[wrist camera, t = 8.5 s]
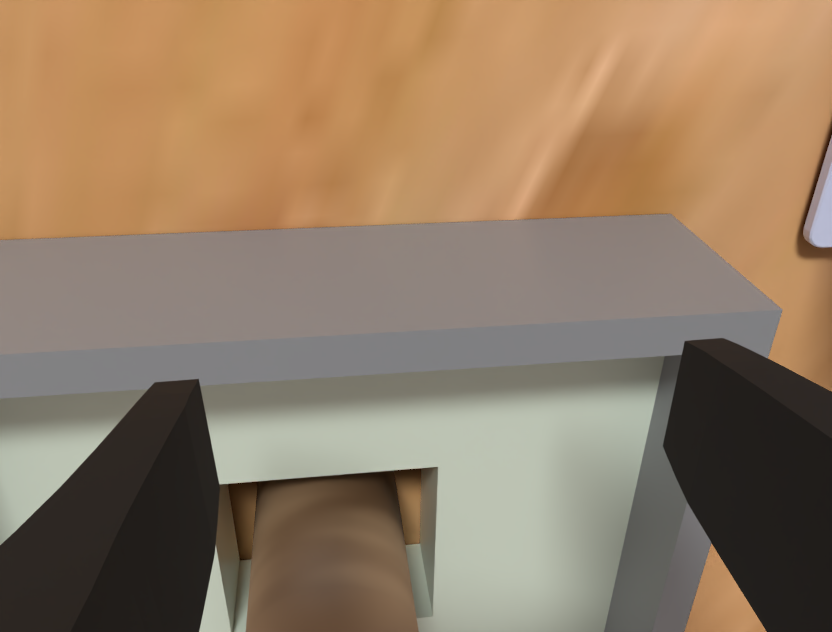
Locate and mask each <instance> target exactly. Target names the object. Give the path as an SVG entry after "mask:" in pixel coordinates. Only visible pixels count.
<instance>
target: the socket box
mask: <svg viewBox="0 0 832 632" xmlns="http://www.w3.org/2000/svg"><path fill="white" fill-rule="evenodd" d="M781 313H782V309H781V308H780V307H779V306H778V305H776V304H775V303H774V302H773V301H772V300H771V299H769V298H768V297H767V296H766V295H765V294H764V293H762V292H761V291H760V290H759V289H758V288H757V287H755V286H754V285H753V284H752V283H751V282H750V281H748V280H747V279H746V278H745V277H744V276H743V275H741V274H740V273H739V272H738V271H737V270H736V269H734V268H733V267H732V266H731V265H730V264H729V263H727V262H726V261H725V260H724V259H723V258H722V257H720V256H719V255H718V254H717V253H716V252H715V251H714V250H712V249H711V248H710V247H709V246H708V245H707V244H705V243H704V242H703V241H702V240H701V239H700V238H698V237H697V236H696V235H695V234H694V233H693V232H691V231H690V230H689V229H688V228H687V227H686V226H684V225H683V224H682V223H681V222H680V221H679V220H677V219H676V218H675V217H674V216H673V215H672V214H655V215H629V216H604V217H578V218H553V219H528V220H502V221H477V222H451V223H426V224H400V225H375V226H349V227H324V228H298V229H273V230H247V231H222V232H196V233H171V234H145V235H120V236H95V237H69V238H44V239H18V240H0V545H1V544H2V543H3V542H4V541H5V540H6V539H7V538H9V537H10V536H11V535H12V534H13V533H14V532H15V531H16V530H17V529H18V528H19V527H20V526H21V525H22V524H23V523H24V522H25V521H26V520H27V519H28V518H29V517H30V516H31V515H32V514H33V513H34V512H35V511H36V510H37V509H38V508H39V507H40V506H41V505H42V504H43V503H44V502H45V501H46V500H47V499H49V498H50V497H51V496H52V495H53V494H54V493H55V492H56V491H57V490H58V489H59V488H60V487H61V485H62V484H63V483H64V482H65V481H66V480H67V479H68V478H69V477H70V476H71V475H72V474H73V473H74V472H75V470H76V469H77V468H78V467H79V466H80V465H81V464H82V463H83V462H84V461H85V460H86V459H87V457H88V456H89V455H90V454H91V453H92V452H93V451H94V450H95V449H96V448H97V447H98V445H99V444H100V443H101V442H102V441H103V440H104V439H105V438H106V436H107V435H108V434H109V433H110V432H111V431H112V430H113V428H114V427H115V426H116V425H117V424H118V423H119V422H120V420H121V419H122V418H123V417H124V416H125V415H126V414H127V412H128V411H129V410H130V409H131V408H132V407H133V406H134V404H135V403H136V402H137V401H138V400H139V399H140V398H141V397H142V395H143V394H144V393H145V392H146V391H147V390H148V389H149V388H150V387H151V386H152V385H153V384H154V382H165V381H178V380H190V379H199V382H200V387H201V393H202V398H203V403H204V408H205V413H206V418H207V424H208V429H209V434H210V439H211V444H212V449H213V455H214V460H215V465H216V470H217V475H218V480H219V486H220V494H219V509H218V523H217V535H216V547H215V555H214V560H213V566H212V571H211V576H210V581H209V586H208V591H207V596H206V601H205V606H204V611H203V616H202V620H201V625H200V630H199V632H246V621H247V609H248V597H249V584H250V572H251V560H252V559H250V560H240V558H239V552H238V545H237V539H236V533H235V526H234V520H233V513H232V507H231V500H230V494H229V488H228V484H231V483H243V482H255V481H268V480H280V479H293V478H305V477H317V476H330V475H342V474H355V473H367V472H380V471H392V470H404V469H417V468H421V510H420V544H411V545H405V546H406V553H407V559H408V566H409V572H410V579H411V585H412V592H413V598H414V605H415V611H416V618H417V624H418V630H419V632H684V631H685V628H686V624H687V621H688V618H689V614H690V611H691V608H692V605H693V601H694V598H695V595H696V592H697V588H698V585H699V582H700V578H701V575H702V572H703V569H704V565H705V562H706V559H707V555H708V552H709V549H710V546H711V541H710V539H709V538H708V536H707V534H706V533H705V531H704V530H703V528H702V526H701V525H700V523H699V521H698V520H697V518H696V516H695V515H694V513H693V511H692V510H691V508H690V506H689V505H688V503H687V501H686V498H685V496H684V494H683V492H682V490H681V488H680V485H679V483H678V481H677V479H676V477H675V474H674V472H673V470H672V467H671V465H670V462H669V460H668V458H667V455H666V453H665V450H664V448H663V442H664V437H665V432H666V428H667V423H668V418H669V413H670V409H671V404H672V399H673V394H674V390H675V385H676V380H677V375H678V371H679V366H680V361H681V356H682V352H683V347H684V342H685V341H690V340H702V339H715V338H725V339H727V340H729V341H732V342H734V343H737V344H739V345H741V346H743V347H745V348H747V349H749V350H752V351H754V352H756V353H758V354H760V355H762V356H764V357H766V358H768V356H769V353H770V349H771V346H772V343H773V339H774V336H775V333H776V330H777V326H778V323H779V320H780V317H781Z"/></svg>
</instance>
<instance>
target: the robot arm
mask: <svg viewBox="0 0 832 632" xmlns="http://www.w3.org/2000/svg"><path fill="white" fill-rule="evenodd" d="M803 236H804V238H805V240H806V241H808V242H809V243H810V244H812V245H813V246H815V247H819V248H827V247H832V136H831V140H830V143H829V146H828V149H827V153H826V156H825V159H824V163H823V166H822V169H821V173H820V176H819V179H818V183H817V186H816V189H815V192H814V196H813V199H812V202H811V206H810V209H809V212H808V216H807V219H806V222H805V225H804V230H803ZM663 448H664V450H665V453H666V455H667V458H668V460H669V462H670V465H671V467H672V470H673V472H674V474H675V477H676V479H677V481H678V483H679V485H680V488H681V490H682V492H683V494H684V496H685V498H686V501H687V503H688V505H689V506H690V508H691V510H692V511H693V513H694V515H695V516H696V518H697V520H698V521H699V523H700V525H701V526H702V528H703V530H704V531H705V533H706V534H707V536H708V538H709V539H710V541H711V543H712V544H713V546H714V548H715V549H716V551H717V552H718V554H719V556H720V557H721V559H722V560H723V562H724V564H725V565H726V567H727V568H728V570H729V572H730V573H731V575H732V576H733V578H734V580H735V581H736V583H737V584H738V586H739V588H740V589H741V591H742V592H743V594H744V596H745V597H746V599H747V601H748V602H749V604H750V605H751V607H752V609H753V610H754V612H755V613H756V615H757V617H758V618H759V620H760V621H761V623H762V625H763V626H764V628H765V629H766V631H767V632H832V392H831V391H829V390H827V389H825V388H823V387H821V386H819V385H817V384H816V383H814V382H812V381H810V380H808V379H806V378H804V377H802V376H800V375H798V374H796V373H795V372H793V371H791V370H789V369H787V368H785V367H783V366H781V365H779V364H777V363H775V362H773V361H772V360H770V359H768V358H766V357H764V356H762V355H760V354H758V353H756V352H754V351H752V350H749V349H747V348H745V347H743V346H741V345H739V344H737V343H734V342H732V341H729V340H727V339H725V338H715V339H702V340H690V341H685V342H684V347H683V352H682V356H681V361H680V366H679V371H678V375H677V380H676V385H675V390H674V394H673V399H672V404H671V409H670V413H669V418H668V423H667V428H666V432H665V437H664V442H663ZM219 494H220V486H219V480H218V475H217V470H216V465H215V460H214V455H213V449H212V444H211V439H210V434H209V429H208V424H207V418H206V413H205V408H204V403H203V398H202V393H201V387H200V382H199V379H190V380H178V381H165V382H154V384H153V385H152V386H151V387H150V388H149V389H148V390H147V391H146V392H145V393H144V394H143V395H142V397H141V398H140V399H139V400H138V401H137V402H136V403H135V404H134V406H133V407H132V408H131V409H130V410H129V411H128V412H127V414H126V415H125V416H124V417H123V418H122V419H121V420H120V422H119V423H118V424H117V425H116V426H115V427H114V428H113V430H112V431H111V432H110V433H109V434H108V435H107V436H106V438H105V439H104V440H103V441H102V442H101V443H100V444H99V445H98V447H97V448H96V449H95V450H94V451H93V452H92V453H91V454H90V455H89V456H88V457H87V459H86V460H85V461H84V462H83V463H82V464H81V465H80V466H79V467H78V468H77V469H76V470H75V472H74V473H73V474H72V475H71V476H70V477H69V478H68V479H67V480H66V481H65V482H64V483H63V484H62V485H61V487H60V488H59V489H58V490H57V491H56V492H55V493H54V494H53V495H52V496H51V497H50V498H49V499H47V500H46V501H45V502H44V503H43V504H42V505H41V506H40V507H39V508H38V509H37V510H36V511H35V512H34V513H33V514H32V515H31V516H30V517H29V518H28V519H27V520H26V521H25V522H24V523H23V524H22V525H21V526H20V527H19V528H18V529H17V530H16V531H15V532H14V533H13V534H12V535H11V536H10V537H9V538H7V539H6V540H5V541H4V542H3V543H2V544H1V545H0V632H199V630H200V625H201V620H202V616H203V611H204V606H205V601H206V596H207V591H208V586H209V581H210V576H211V571H212V566H213V560H214V555H215V547H216V535H217V523H218V509H219Z"/></svg>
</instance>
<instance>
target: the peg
mask: <svg viewBox="0 0 832 632" xmlns="http://www.w3.org/2000/svg"><path fill="white" fill-rule="evenodd" d="M246 632H419V630H418V624H417V618H416V611H415V605H414V598H413V592H412V585H411V579H410V572H409V566H408V559H407V553H406V546H405V540H404V533H403V527H402V520H401V514H400V507H399V501H398V494H397V488H396V482H395V475H394V470H392V471H380V472H367V473H355V474H342V475H330V476H317V477H305V478H293V479H280V480H268V481H258V487H257V499H256V511H255V523H254V535H253V548H252V560H251V572H250V584H249V597H248V609H247V621H246Z"/></svg>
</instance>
